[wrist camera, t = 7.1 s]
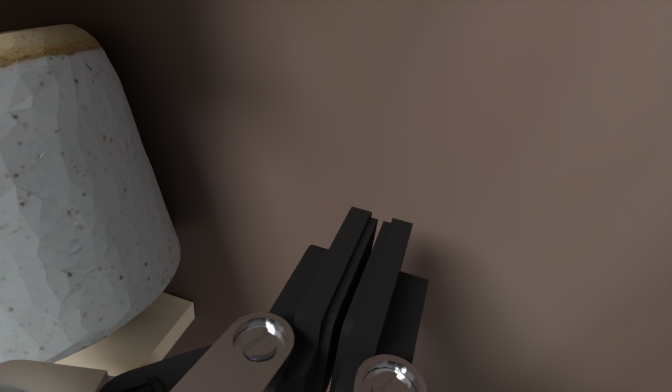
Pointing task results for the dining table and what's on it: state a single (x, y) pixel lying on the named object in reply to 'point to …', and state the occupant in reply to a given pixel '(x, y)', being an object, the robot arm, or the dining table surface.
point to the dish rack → (138, 338)
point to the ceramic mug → (73, 199)
